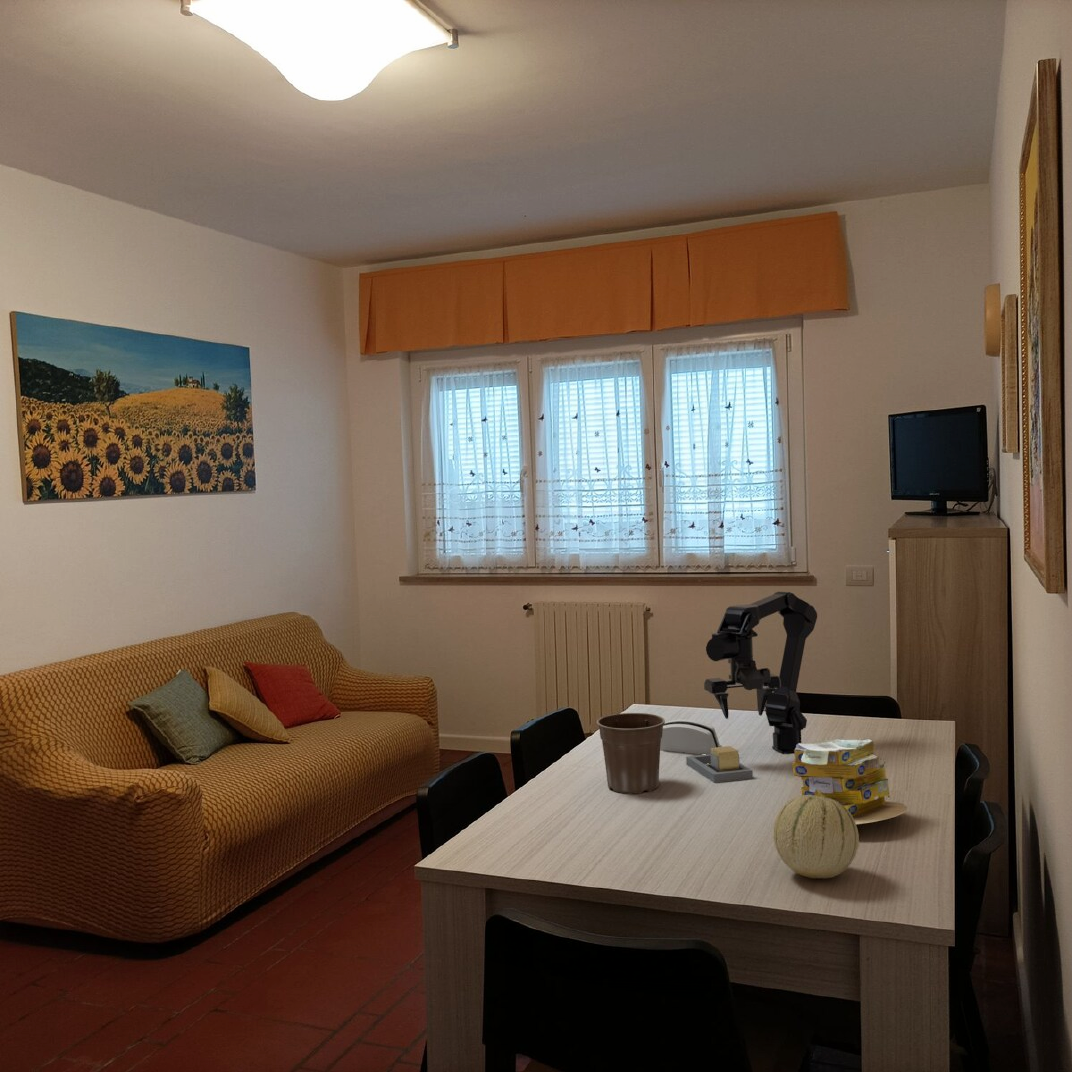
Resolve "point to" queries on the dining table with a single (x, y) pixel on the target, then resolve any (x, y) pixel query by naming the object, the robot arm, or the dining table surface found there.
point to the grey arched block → (688, 737)
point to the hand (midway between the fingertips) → (743, 716)
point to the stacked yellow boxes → (847, 777)
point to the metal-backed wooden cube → (724, 759)
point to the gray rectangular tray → (705, 769)
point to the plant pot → (631, 750)
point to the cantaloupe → (816, 836)
